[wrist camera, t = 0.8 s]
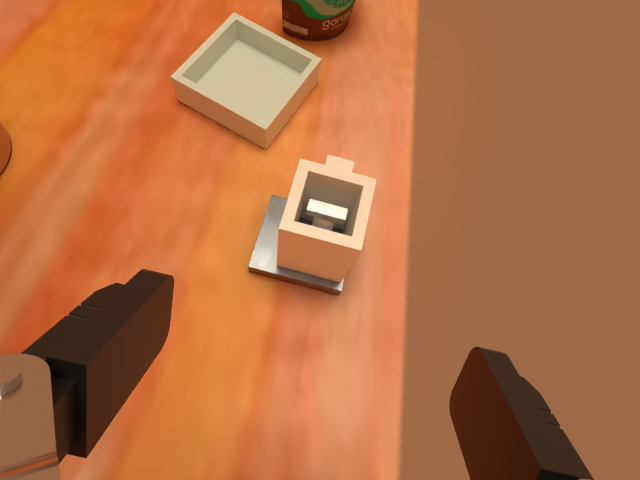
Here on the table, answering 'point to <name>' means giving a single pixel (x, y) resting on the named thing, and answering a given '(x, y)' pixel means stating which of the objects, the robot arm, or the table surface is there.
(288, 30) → the food container
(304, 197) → the cream open box
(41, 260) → the table surface
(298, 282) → the stake stand
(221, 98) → the tray
